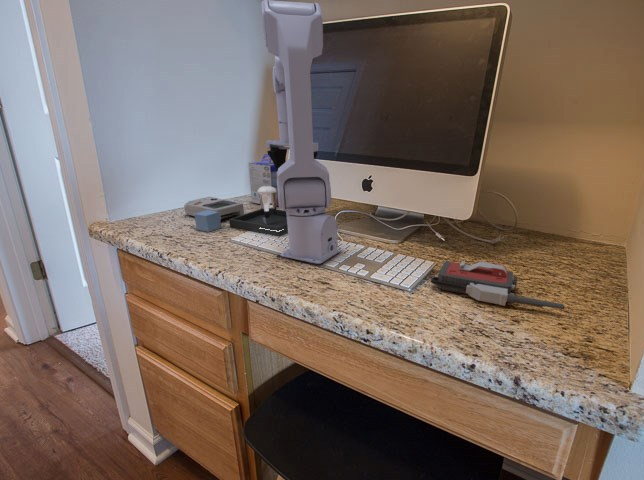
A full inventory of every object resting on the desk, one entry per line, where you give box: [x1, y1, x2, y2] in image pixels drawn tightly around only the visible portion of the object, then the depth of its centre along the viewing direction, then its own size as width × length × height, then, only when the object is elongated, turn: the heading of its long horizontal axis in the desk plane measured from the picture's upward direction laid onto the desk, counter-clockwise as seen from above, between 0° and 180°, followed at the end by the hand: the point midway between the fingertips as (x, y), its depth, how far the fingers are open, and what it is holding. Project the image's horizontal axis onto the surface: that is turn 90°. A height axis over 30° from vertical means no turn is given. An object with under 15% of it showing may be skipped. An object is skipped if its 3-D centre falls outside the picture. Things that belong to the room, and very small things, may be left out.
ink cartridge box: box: [247, 153, 279, 207], centre depth 112 cm, size 10×6×14 cm, turn 57°
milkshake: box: [258, 186, 277, 224], centre depth 93 cm, size 5×5×10 cm
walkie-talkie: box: [430, 260, 566, 310], centre depth 60 cm, size 9×4×20 cm
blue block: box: [193, 210, 222, 233], centre depth 90 cm, size 4×4×4 cm
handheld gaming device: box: [183, 196, 245, 222], centre depth 101 cm, size 9×15×4 cm, turn 57°
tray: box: [228, 208, 288, 237], centre depth 95 cm, size 15×13×2 cm
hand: (294, 178), depth 97 cm, fingers open, 7 cm apart
